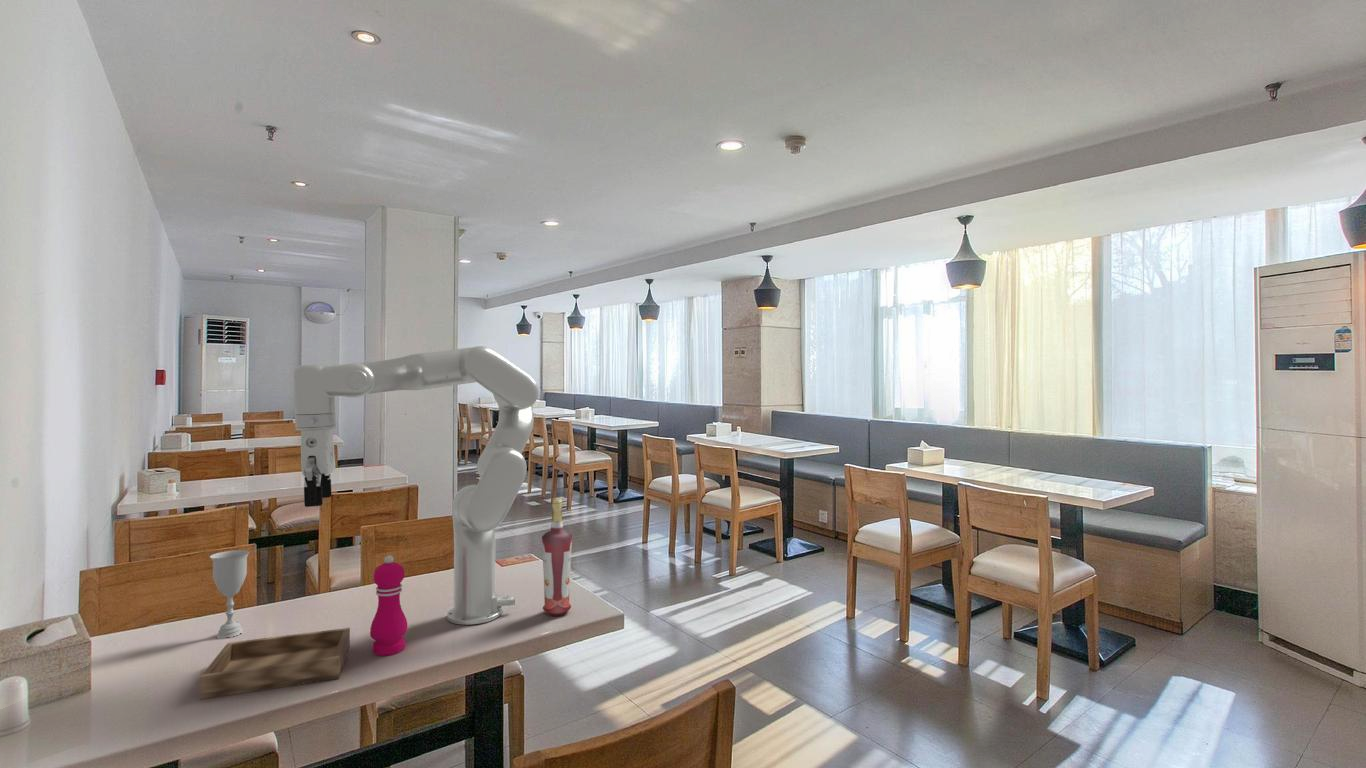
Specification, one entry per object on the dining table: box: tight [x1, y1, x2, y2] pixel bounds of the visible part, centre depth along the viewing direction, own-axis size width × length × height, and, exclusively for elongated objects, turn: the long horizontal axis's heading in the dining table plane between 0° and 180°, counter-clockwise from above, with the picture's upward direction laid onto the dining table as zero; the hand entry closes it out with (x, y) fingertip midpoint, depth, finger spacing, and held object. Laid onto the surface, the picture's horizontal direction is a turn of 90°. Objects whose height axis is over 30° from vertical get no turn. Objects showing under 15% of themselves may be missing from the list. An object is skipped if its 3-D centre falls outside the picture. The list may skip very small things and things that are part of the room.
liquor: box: [541, 497, 573, 617], centre depth 156 cm, size 7×7×28 cm
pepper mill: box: [369, 555, 409, 657], centre depth 134 cm, size 7×7×20 cm
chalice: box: [209, 549, 250, 639], centre depth 143 cm, size 7×7×18 cm
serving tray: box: [199, 627, 351, 700], centre depth 125 cm, size 22×16×4 cm
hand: (318, 501), depth 136 cm, fingers open, 9 cm apart
